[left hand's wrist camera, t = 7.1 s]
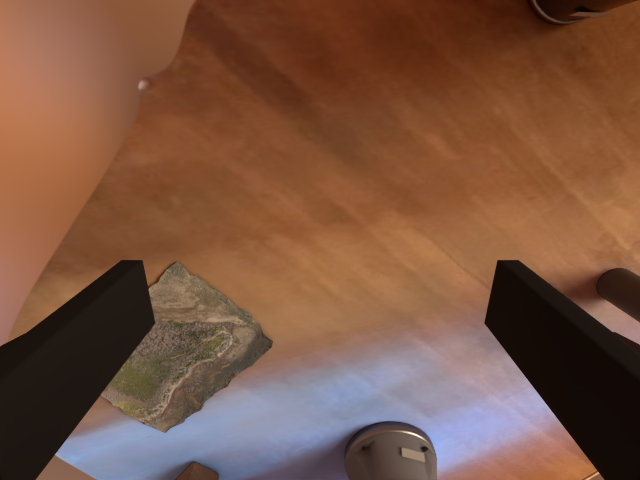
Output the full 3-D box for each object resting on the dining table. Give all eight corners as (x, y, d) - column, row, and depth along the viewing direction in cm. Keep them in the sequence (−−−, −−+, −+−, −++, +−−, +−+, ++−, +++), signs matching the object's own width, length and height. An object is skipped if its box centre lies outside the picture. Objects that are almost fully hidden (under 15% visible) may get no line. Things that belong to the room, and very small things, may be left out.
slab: (173, 438, 57) (171, 443, 56) (65, 375, 52) (60, 379, 51) (281, 337, 49) (281, 342, 49) (166, 252, 45) (163, 255, 44)
